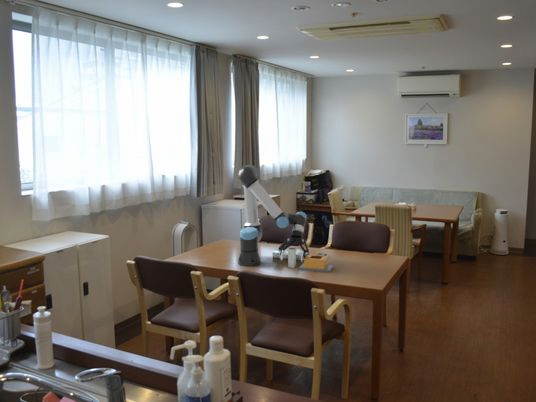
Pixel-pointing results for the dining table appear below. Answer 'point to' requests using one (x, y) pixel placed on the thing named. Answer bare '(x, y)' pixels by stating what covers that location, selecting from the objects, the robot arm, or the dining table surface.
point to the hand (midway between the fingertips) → (291, 260)
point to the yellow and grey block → (316, 263)
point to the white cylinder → (292, 257)
